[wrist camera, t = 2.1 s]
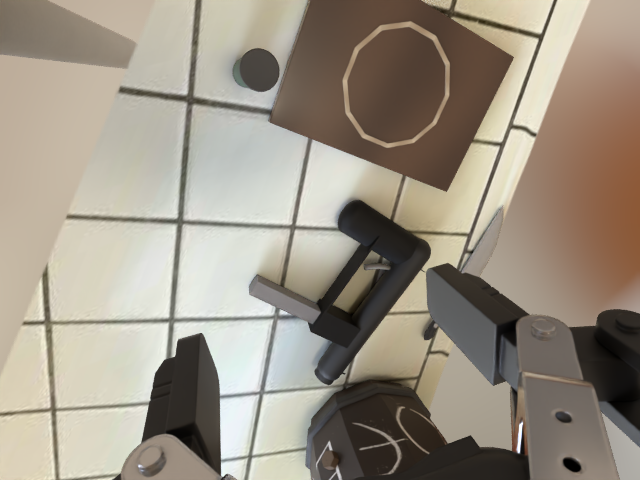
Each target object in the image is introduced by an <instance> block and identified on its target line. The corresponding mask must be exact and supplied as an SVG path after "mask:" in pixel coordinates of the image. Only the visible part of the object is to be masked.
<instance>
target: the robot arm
mask: <svg viewBox="0 0 640 480" xmlns="http://www.w3.org/2000/svg"><path fill="white" fill-rule="evenodd" d="M426 282H427V305H428V310H429V313H430V315H431V317H432V319H433V320H434V321H435V322H436V324H437V325H438V326H439V327H440V328H441V329H442V330H443V331H444V332H445V333H446V335H447V336H448V337H449V338H450V339H451V340H452V341H453V342H454V343H455V344H456V345H457V347H458V348H459V349H460V350H461V351H462V352H463V353H464V354H465V355H466V357H467V358H468V359H469V360H470V361H471V362H472V363H473V364H474V365H475V367H476V368H477V369H478V370H479V371H480V372H481V373H482V374H483V375H484V376H485V377H486V379H487V380H488V381H489V382H490V383H491V384H492V385H493V386H494V385H497V384H499V383H502V382H505V381H507V382H508V383H509V384H510V385H511V390H510V400H511V425H512V451H510V450H506V449H500V448H494V447H479V446H478V445H477V443H476V442H475V440H474V439H473V438H472V437H471V436H468V437H465V438H462V439H460V440H457V441H454V442H452V443H449V444H446V445H444V446H441V447H438V448H436V449H434V450H433V451H432V452H430V453H429V454H428V455H426V456H425V457H424V458H422V459H421V460H420V461H418V462H417V463H416V464H414V465H413V466H412V467H410V468H409V469H408V470H406V471H405V472H402V473H397V474H386V475H375V476H365V477H358V478H355V479H353V480H620V478H619V475H618V471H617V467H616V464H615V460H614V457H613V453H612V449H611V446H610V442H609V439H608V435H607V431H606V428H605V424H604V421H603V417H602V414H601V412H602V413H603V414H605V416H607V417H608V418H609V419H610V420H611V421H612V422H613V423H614V424H615V425H616V426H617V427H618V428H619V429H621V430H622V431H623V432H624V433H625V434H626V435H627V436H628V437H629V438H630V439H631V440H632V441H633V442H634V443H636V444H637V445H638V446H639V447H640V314H639V313H636V312H632V311H628V310H620V309H614V310H606V311H603V312H602V313H600V314H599V315H598V317H597V322H596V326H584V327H568V326H567V325H565V324H564V323H563V322H561V321H560V320H558V319H555V318H552V317H549V316H545V315H529V314H528V313H526V312H525V311H524V310H523V309H521V308H520V307H519V306H517V305H516V304H515V303H513V302H512V301H511V300H509V299H508V298H507V297H505V296H504V295H503V294H500V293H499V291H497V290H496V289H494V288H493V287H491V286H490V285H489V284H488V283H486V282H485V281H484V280H483V279H481V278H480V277H477V276H474V275H472V274H469V273H466V272H465V273H461V272H460V271H458V270H457V269H456V268H455V267H453V266H452V265H451V264H449V263H446V264H443V265H439V266H436V267H432V268H429V269H428V270H427V272H426ZM150 398H151V401H150V402H149V407H148V412H147V417H146V422H145V427H144V432H143V437H142V442H141V444H140V445H139V446H137V447H136V448H135V449H134V450H133V451H132V452H131V454H130V455H129V456H128V458H127V459H126V461H125V463H124V465H123V467H122V471H121V474H119V475H118V476H117V477H116V478H114V479H113V480H237V479H236V478H234V477H233V476H231V475H229V474H226V475H225V476H224V477H221V448H220V388H219V379H218V374H217V370H216V367H215V364H214V362H213V359H212V356H211V354H210V351H209V348H208V345H207V343H206V340H205V337H204V335H203V334H202V333H199V334H195V335H192V336H188V337H185V338H181V339H178V342H177V348H176V355H175V357H172V358H169V359H165V360H164V361H163V363H162V364H161V366H160V367H159V369H158V370H157V372H156V373H155V377H154V382H153V389H152V392H151V397H150Z"/></svg>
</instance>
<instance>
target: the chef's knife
mask: <svg viewBox="0 0 640 480" xmlns="http://www.w3.org/2000/svg"><path fill="white" fill-rule="evenodd" d="M502 222H503V206H502V207H501V209H500V210H499V212H498V213H497V215H496V216H495V218H494V219H493V221H492V222H491V224H490V226H489V227H488V229H487V230H486V232H485V234H484V235H483V237H482V239H481V240H480V242H479V243H478V245H477V247H476V248H475V250H474V252H473V253H472V255H471V257H470V258H469V260H468V262H467V264H466V265H465V267H464V269H463V270H462V272H461V273H465V272H466V273H469V274H472V275H474V276H477V277H479V276H480V275H481V273H482V271H483V269H484V268H485V266H486V264H487V263H488V261H489V259H490V257H491V255H492V253H493V251H494V249H495V246H496V244H497V240H498V236H499V233H500V229H501V226H502ZM437 327H438V325H437V324H436V322H435V321H434V320H433V321H432V322H431V324H430V326H429V327H428V329H427V330H426V332H425V335H424V339H425V340H430V339H431V338H432V337H434V335H435V332H436V329H437Z"/></svg>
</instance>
